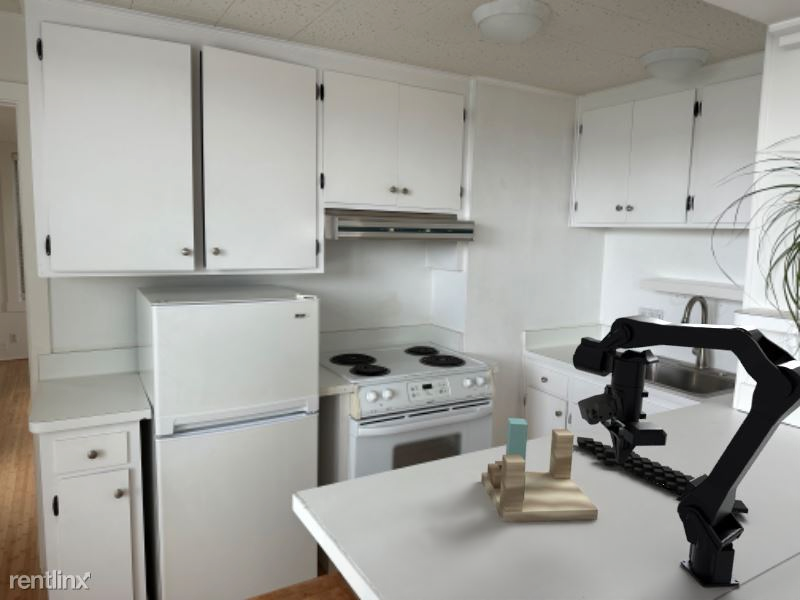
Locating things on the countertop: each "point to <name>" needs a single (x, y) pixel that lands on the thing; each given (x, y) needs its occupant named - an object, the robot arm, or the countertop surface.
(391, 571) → the countertop surface
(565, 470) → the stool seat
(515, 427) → the folding leg
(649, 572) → the countertop surface
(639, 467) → the black segmented strip
